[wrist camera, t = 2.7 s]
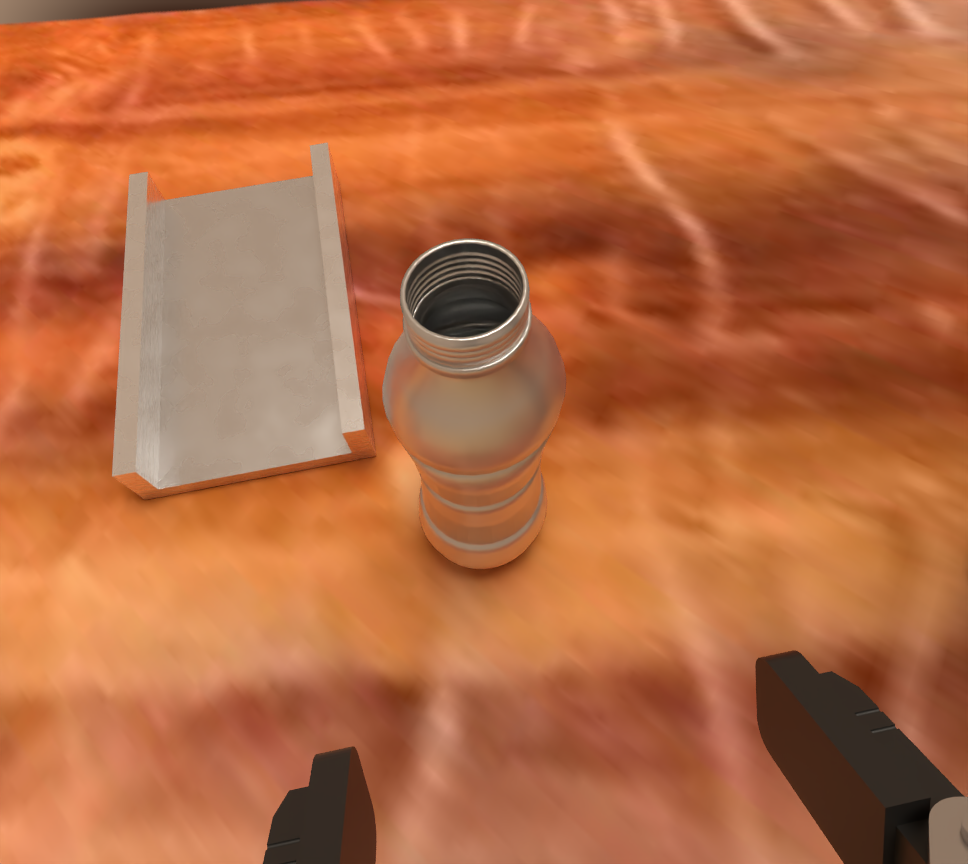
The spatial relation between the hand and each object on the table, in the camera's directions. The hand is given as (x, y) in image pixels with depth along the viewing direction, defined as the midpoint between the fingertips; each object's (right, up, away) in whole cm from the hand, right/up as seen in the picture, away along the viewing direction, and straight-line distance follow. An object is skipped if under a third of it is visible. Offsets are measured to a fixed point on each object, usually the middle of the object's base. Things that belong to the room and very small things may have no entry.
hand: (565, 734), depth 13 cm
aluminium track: (-16, +13, +30) cm, 36 cm away
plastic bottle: (-2, +1, +24) cm, 24 cm away
